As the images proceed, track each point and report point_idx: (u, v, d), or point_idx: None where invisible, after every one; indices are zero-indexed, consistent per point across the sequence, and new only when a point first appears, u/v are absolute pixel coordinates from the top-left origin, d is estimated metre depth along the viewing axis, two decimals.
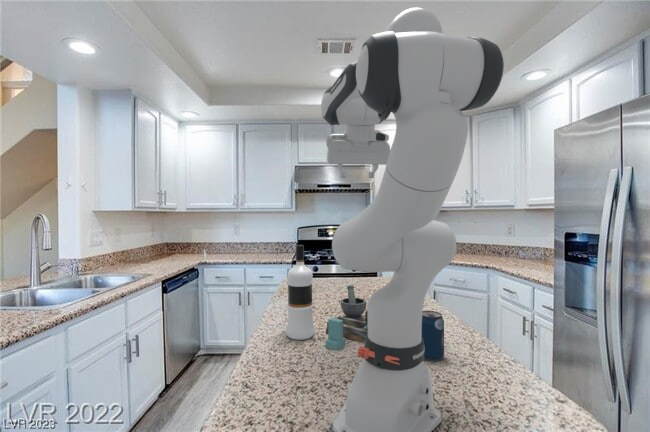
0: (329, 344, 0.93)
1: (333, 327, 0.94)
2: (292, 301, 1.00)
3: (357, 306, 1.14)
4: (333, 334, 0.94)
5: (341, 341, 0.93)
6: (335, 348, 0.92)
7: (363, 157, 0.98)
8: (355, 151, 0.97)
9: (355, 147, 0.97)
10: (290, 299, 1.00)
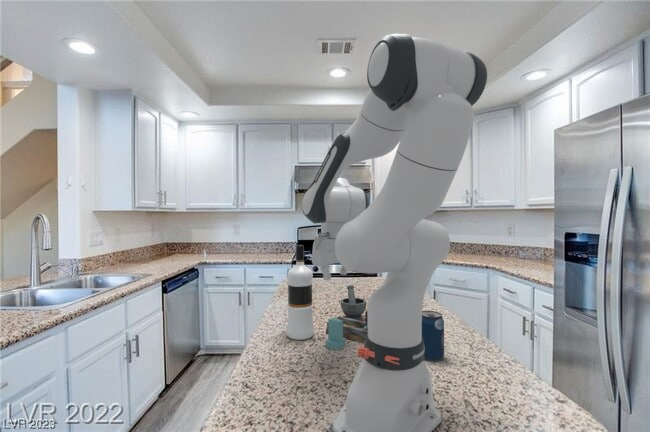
0: (329, 344, 0.93)
1: (333, 327, 0.94)
2: (292, 301, 1.00)
3: (357, 306, 1.14)
4: (333, 334, 0.94)
5: (341, 341, 0.93)
6: (335, 348, 0.92)
7: None
8: None
9: None
10: (290, 299, 1.00)
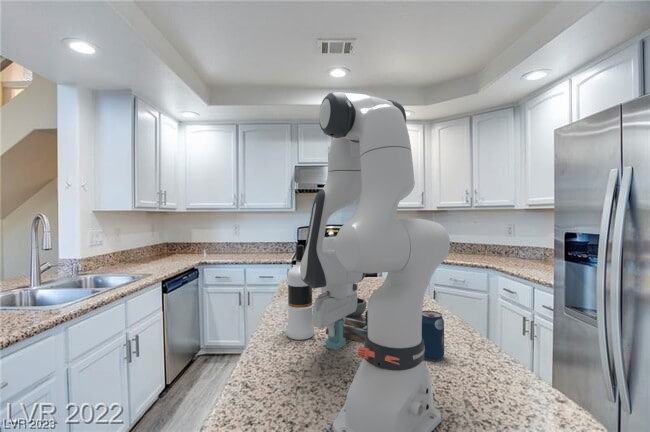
0: (329, 344, 0.93)
1: None
2: (292, 301, 1.00)
3: (357, 306, 1.14)
4: None
5: (341, 341, 0.93)
6: (335, 348, 0.91)
7: (343, 310, 0.95)
8: (338, 307, 0.93)
9: (337, 302, 0.93)
10: (290, 299, 1.00)
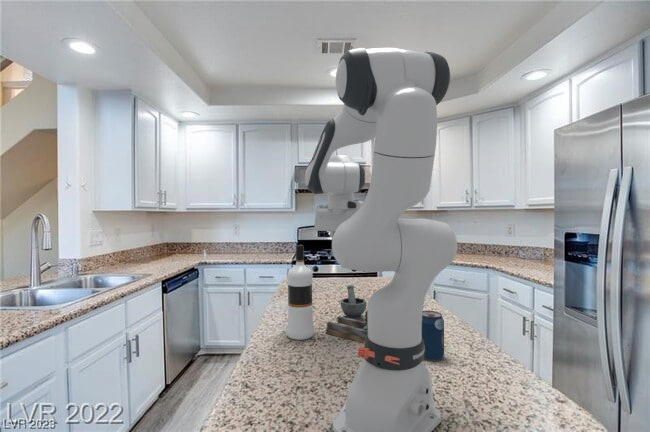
0: None
1: None
2: (292, 301, 1.00)
3: (357, 306, 1.14)
4: None
5: None
6: None
7: None
8: (335, 219, 1.05)
9: (334, 215, 1.05)
10: (290, 299, 1.00)
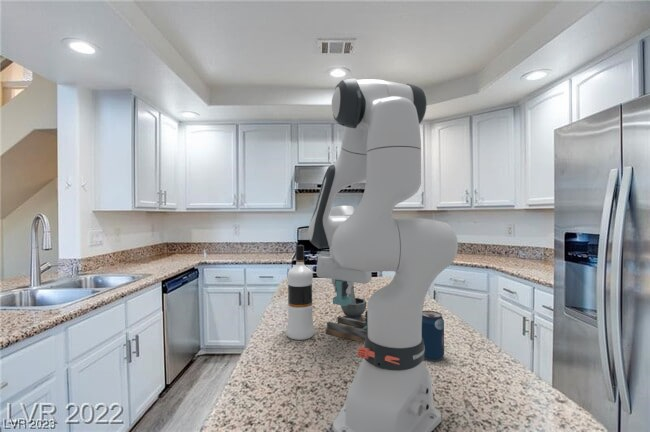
0: None
1: None
2: (292, 301, 1.00)
3: (357, 306, 1.14)
4: None
5: (338, 299, 1.05)
6: None
7: (343, 274, 1.04)
8: (337, 268, 1.05)
9: (336, 264, 1.05)
10: (290, 299, 1.00)
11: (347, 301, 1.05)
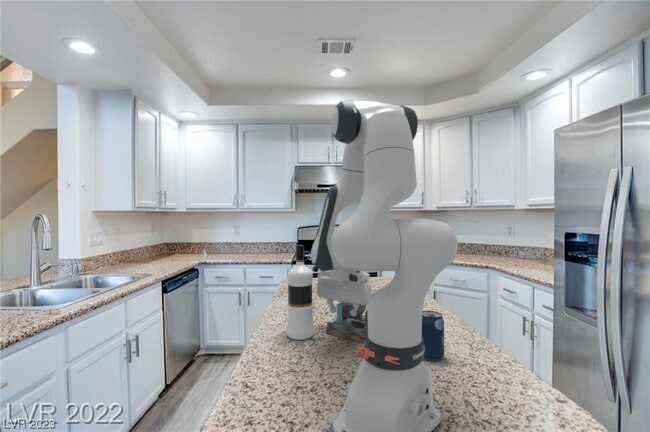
0: None
1: None
2: (292, 301, 1.00)
3: None
4: None
5: (339, 323, 1.04)
6: None
7: (343, 295, 1.03)
8: (337, 289, 1.05)
9: (336, 285, 1.05)
10: (290, 299, 1.00)
11: (348, 325, 1.04)
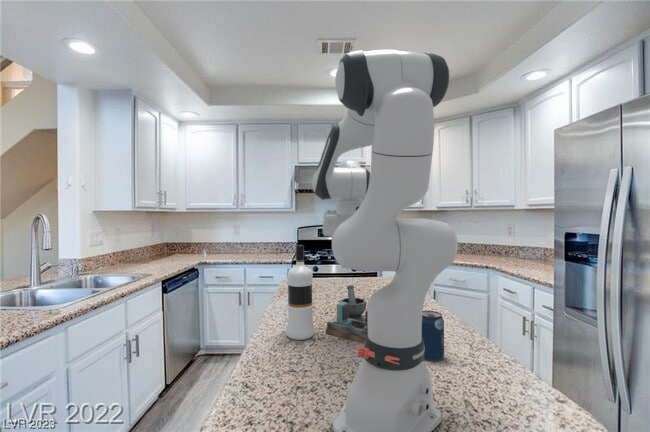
0: None
1: None
2: (292, 301, 1.00)
3: (357, 306, 1.14)
4: None
5: (339, 323, 1.04)
6: None
7: None
8: None
9: (343, 221, 1.05)
10: (290, 299, 1.00)
11: (348, 325, 1.04)
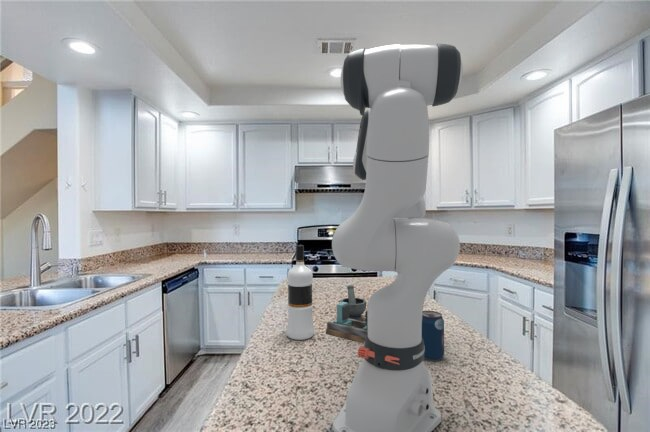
0: None
1: None
2: (292, 301, 1.00)
3: (357, 306, 1.14)
4: None
5: (339, 323, 1.04)
6: None
7: None
8: None
9: None
10: (290, 299, 1.00)
11: (348, 325, 1.04)
